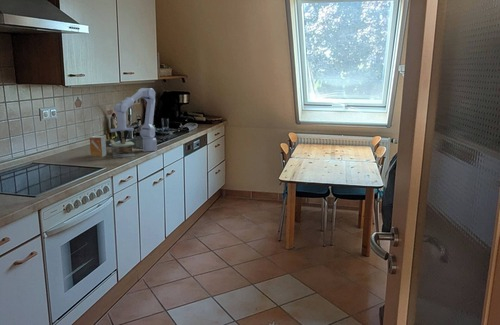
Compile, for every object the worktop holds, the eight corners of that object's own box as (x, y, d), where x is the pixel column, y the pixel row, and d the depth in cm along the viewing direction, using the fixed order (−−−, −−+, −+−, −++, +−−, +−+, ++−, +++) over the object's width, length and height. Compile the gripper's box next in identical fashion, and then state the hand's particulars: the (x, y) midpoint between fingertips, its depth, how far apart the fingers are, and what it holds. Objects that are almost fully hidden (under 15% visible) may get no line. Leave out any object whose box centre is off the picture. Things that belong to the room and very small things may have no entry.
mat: (133, 153, 282) (133, 153, 282) (135, 156, 274) (135, 155, 274) (112, 155, 277) (112, 154, 277) (113, 158, 269) (113, 157, 269)
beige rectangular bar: (113, 142, 299) (113, 139, 299) (115, 144, 288) (115, 142, 288) (110, 142, 298) (110, 140, 298) (112, 145, 288) (112, 142, 287)
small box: (90, 156, 273) (89, 137, 270) (95, 154, 280) (93, 135, 277) (102, 156, 272) (100, 137, 270) (106, 154, 279) (105, 135, 276)
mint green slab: (131, 142, 280) (131, 137, 279) (134, 145, 274) (134, 139, 273) (112, 144, 275) (111, 138, 274) (114, 146, 268) (113, 140, 267)
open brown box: (130, 150, 292) (130, 144, 291) (132, 153, 282) (132, 147, 281) (111, 152, 287) (111, 145, 286) (113, 155, 277) (112, 148, 276)
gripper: (131, 120, 277) (132, 140, 280) (109, 121, 271) (110, 141, 274) (133, 121, 271) (135, 141, 274) (111, 122, 264) (112, 143, 268)
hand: (123, 142), depth 273 cm, fingers closed on mint green slab, 2 cm apart
